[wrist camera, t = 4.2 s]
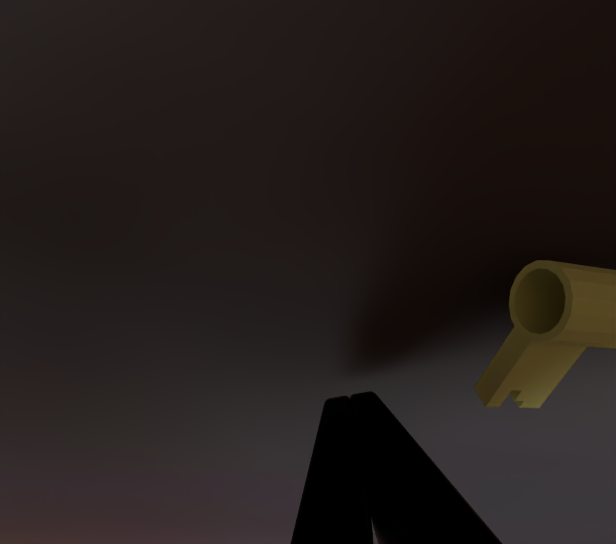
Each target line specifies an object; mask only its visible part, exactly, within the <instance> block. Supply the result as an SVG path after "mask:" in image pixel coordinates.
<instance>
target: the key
mask: <svg viewBox="0 0 616 544" xmlns="http://www.w3.org/2000/svg"><path fill="white" fill-rule="evenodd" d="M509 309H510V315H511V320H512V322H513V324H514V328H513V329H512V331H511V332H510V334H509V335H508V337H507V338H506V340H505V341H504V343H503V344H502V346H501V347H500V349H499V350H498V352H497V353H496V355H495V356H494V358H493V360H492V361H491V363H490V364H489V366H488V367H487V369H486V370H485V372H484V373H483V375H482V376H481V378H480V379H479V381H478V382H477V384H476V385H475V387H474V388H475V390H476V392H477V393H478V395H479V397H480V398H481V400H482V402H483V403H484V405H485V407H500V406H501V404H502V403H503V401H504V400H505V399H506V397H507V396H508V395H509V394H510V395H511V397H512V398H513V400H514V401H515V402H516V403H517V405H518V406H519V408H540V406H541V405H542V404H543V403H544V401H545V400H546V399H547V397H548V396H549V395H550V394H551V392H552V391H553V390H554V389H555V387H556V386H557V385H558V383H559V382H560V381H561V380H562V378H563V377H564V376H565V374H566V373H567V372H568V371H569V369H570V368H571V367H572V365H573V364H574V363H575V362H576V360H577V359H578V358H579V357H580V355H581V354H582V353H583V351H584V350H585V349H586V348H587V347H598V348H611V349H616V270H612V269H605V268H598V267H591V266H584V265H577V264H570V263H563V262H556V261H550V260H536V261H534V262H532V263H530V264H528V265H526V266H525V267H524V268H523V269H522V270H521V271H520V273H519V274H518V275H517V276H516V278H515V280H514V283H513V285H512V288H511V290H510V299H509Z"/></svg>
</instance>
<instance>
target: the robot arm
mask: <svg viewBox="0 0 616 544" xmlns="http://www.w3.org/2000/svg"><path fill="white" fill-rule="evenodd" d="M371 519H372V522H371ZM372 523H373V527H374V530H375V534H376V537H377V541H378V544H502V543H501V542H500V540H499V539H498V538H497V537H496V536H495V535H494V533H493V532H492V531H491V530H490V529H489V527H488V526H487V525H486V524H485V523H484V521H483V520H482V519H481V518H480V517H479V516H478V514H477V513H476V512H475V511H474V510H473V508H472V507H471V506H470V505H469V504H468V503H467V501H466V500H465V499H464V498H463V497H462V495H461V494H460V493H459V492H458V491H457V489H456V488H455V487H454V486H453V485H452V484H451V482H450V481H449V480H448V479H447V478H446V476H445V475H444V474H443V473H442V472H441V471H440V469H439V468H438V467H437V466H436V465H435V463H434V462H433V461H432V460H431V459H430V457H429V456H428V455H427V454H426V453H425V452H424V450H423V449H422V448H421V447H420V446H419V444H418V443H417V442H416V441H415V440H414V439H413V437H412V436H411V435H410V434H409V433H408V431H407V430H406V429H405V428H404V427H403V425H402V424H401V423H400V422H399V421H398V420H397V418H396V417H395V416H394V415H393V414H392V412H391V411H390V410H389V409H388V408H387V407H386V405H385V404H384V403H383V402H382V401H381V399H380V398H379V397H378V396H377V395H376V394H375V393H374V392H371V391H369V392H363V393H357V394H353V395H352V396H351V397H350V398H349V397H348V396H340V397H334V398H329V399H327V400H326V401H325V403H324V407H323V411H322V415H321V419H320V423H319V427H318V432H317V436H316V440H315V444H314V448H313V453H312V457H311V461H310V465H309V469H308V473H307V478H306V482H305V486H304V490H303V494H302V498H301V503H300V507H299V511H298V515H297V519H296V523H295V528H294V532H293V536H292V540H291V544H374V543H373V532H372Z"/></svg>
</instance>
